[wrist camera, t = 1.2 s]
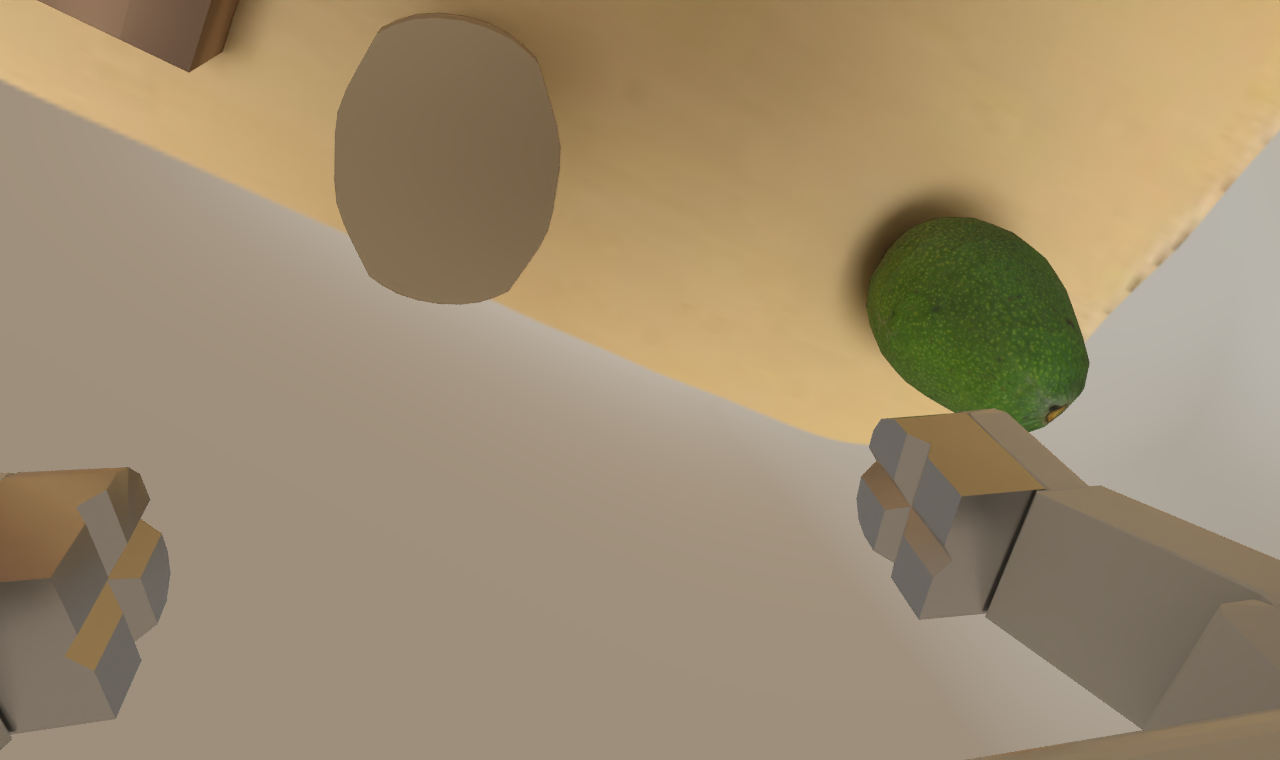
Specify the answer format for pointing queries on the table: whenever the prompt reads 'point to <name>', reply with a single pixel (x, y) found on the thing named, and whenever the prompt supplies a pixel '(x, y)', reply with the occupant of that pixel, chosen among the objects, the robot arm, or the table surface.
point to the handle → (446, 159)
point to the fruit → (978, 321)
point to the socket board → (160, 25)
